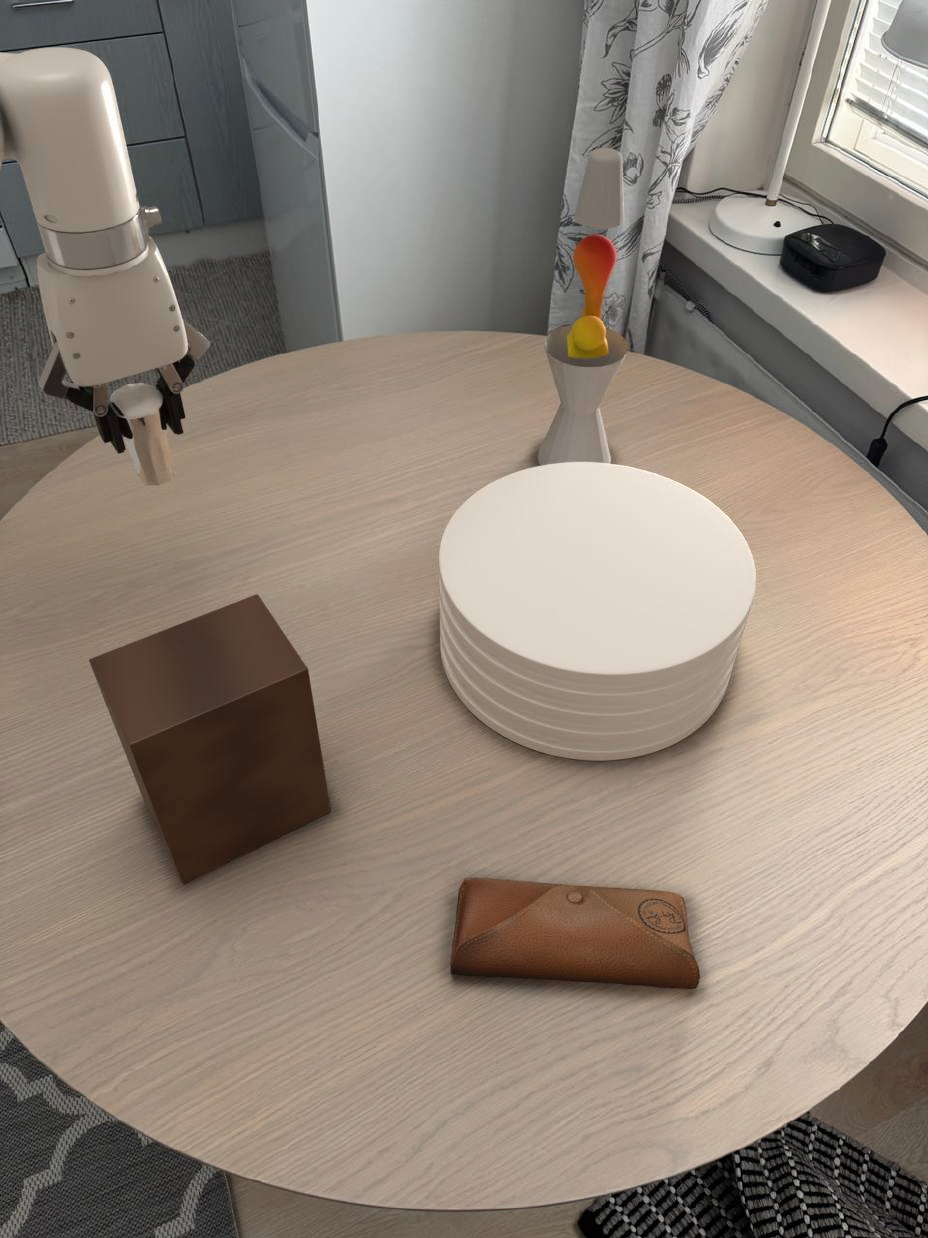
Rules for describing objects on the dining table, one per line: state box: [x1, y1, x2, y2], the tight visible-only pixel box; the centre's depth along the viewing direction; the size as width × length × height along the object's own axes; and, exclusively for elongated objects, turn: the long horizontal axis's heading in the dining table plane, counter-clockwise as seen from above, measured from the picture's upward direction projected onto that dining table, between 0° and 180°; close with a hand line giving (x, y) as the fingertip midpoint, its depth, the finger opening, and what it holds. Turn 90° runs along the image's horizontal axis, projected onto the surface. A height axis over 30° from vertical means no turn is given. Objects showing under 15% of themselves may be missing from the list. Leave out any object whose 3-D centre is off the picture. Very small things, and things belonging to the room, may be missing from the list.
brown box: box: [88, 593, 332, 885], centre depth 77 cm, size 13×10×18 cm
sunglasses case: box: [449, 876, 701, 990], centre depth 74 cm, size 18×7×7 cm
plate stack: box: [438, 462, 757, 762], centre depth 93 cm, size 28×28×12 cm
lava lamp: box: [537, 147, 629, 466], centre depth 105 cm, size 9×9×35 cm
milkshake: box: [108, 382, 176, 486], centre depth 88 cm, size 4×5×10 cm
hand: (145, 434), depth 88 cm, fingers closed on milkshake, 4 cm apart
